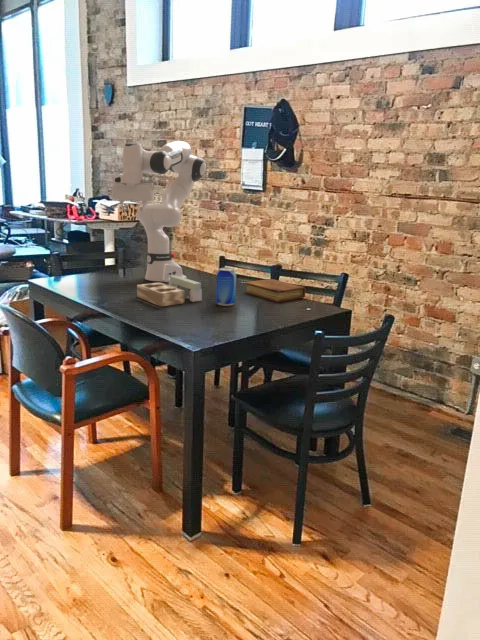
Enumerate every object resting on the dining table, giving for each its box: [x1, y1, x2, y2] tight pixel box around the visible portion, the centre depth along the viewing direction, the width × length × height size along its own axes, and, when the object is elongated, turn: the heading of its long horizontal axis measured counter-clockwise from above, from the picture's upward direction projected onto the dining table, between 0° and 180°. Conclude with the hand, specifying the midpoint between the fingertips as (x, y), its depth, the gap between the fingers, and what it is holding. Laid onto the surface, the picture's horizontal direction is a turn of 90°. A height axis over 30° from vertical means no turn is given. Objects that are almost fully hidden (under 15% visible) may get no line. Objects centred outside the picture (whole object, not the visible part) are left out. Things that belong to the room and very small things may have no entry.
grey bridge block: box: [170, 275, 202, 301], centre depth 241 cm, size 4×20×8 cm, turn 40°
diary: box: [244, 278, 307, 303], centre depth 256 cm, size 23×19×6 cm
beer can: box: [215, 267, 237, 307], centre depth 231 cm, size 8×8×16 cm
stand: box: [168, 282, 203, 303], centre depth 242 cm, size 5×20×6 cm, turn 40°
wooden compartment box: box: [136, 281, 186, 307], centre depth 233 cm, size 12×20×6 cm, turn 40°
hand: (133, 210), depth 244 cm, fingers open, 8 cm apart
